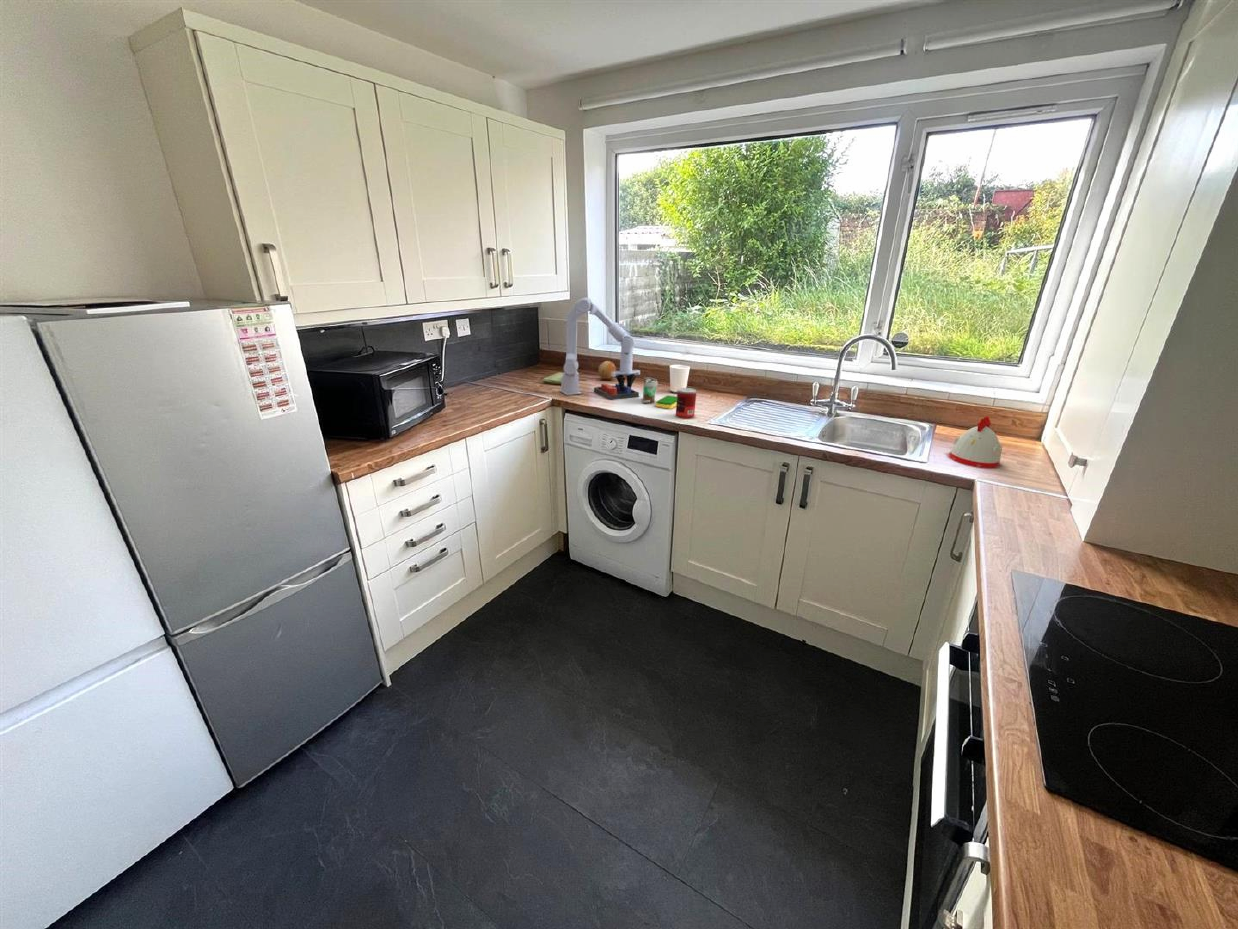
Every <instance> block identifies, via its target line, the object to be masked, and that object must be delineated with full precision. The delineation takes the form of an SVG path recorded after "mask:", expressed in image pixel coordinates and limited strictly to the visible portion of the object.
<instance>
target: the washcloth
mask: <svg viewBox="0 0 1238 929" xmlns="http://www.w3.org/2000/svg"><path fill="white" fill-rule="evenodd" d="M563 374H564V372H557V373H554V374H552V375H549V376H546V377H545V378H543V379H542V382H543V383H544V384H549V385H551V384H552V385H559V386H561V377H562V375H563Z"/></svg>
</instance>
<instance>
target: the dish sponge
mask: <svg viewBox="0 0 1238 929" xmlns="http://www.w3.org/2000/svg"><path fill="white" fill-rule="evenodd" d="M676 404H677V396H676V395H666V396H664V397H662V398H659V400H657V401H656V403H655V407H656V408H662V409H669V410H672V409H673V408H676Z"/></svg>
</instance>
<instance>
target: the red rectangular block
mask: <svg viewBox="0 0 1238 929" xmlns="http://www.w3.org/2000/svg"><path fill="white" fill-rule="evenodd" d="M612 386H613V385H609V384H607V383H601V385H600V387H601V390H602V391H604V392H606V393H608V394H610V395H616V394H617V388H616V387H612Z"/></svg>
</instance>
